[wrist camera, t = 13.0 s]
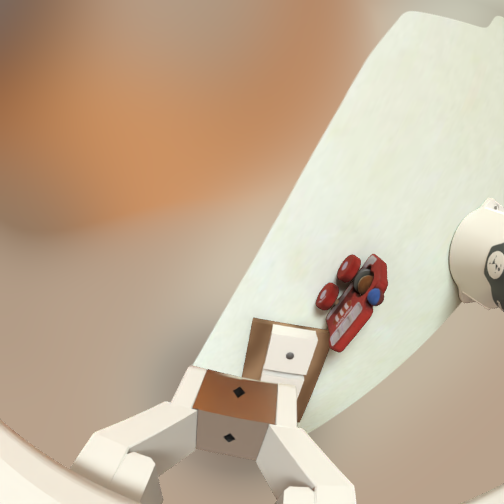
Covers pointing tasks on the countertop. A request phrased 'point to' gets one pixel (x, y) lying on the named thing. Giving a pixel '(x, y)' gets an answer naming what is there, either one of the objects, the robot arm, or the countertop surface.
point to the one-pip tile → (290, 349)
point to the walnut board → (258, 353)
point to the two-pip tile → (283, 378)
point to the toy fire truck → (353, 298)
